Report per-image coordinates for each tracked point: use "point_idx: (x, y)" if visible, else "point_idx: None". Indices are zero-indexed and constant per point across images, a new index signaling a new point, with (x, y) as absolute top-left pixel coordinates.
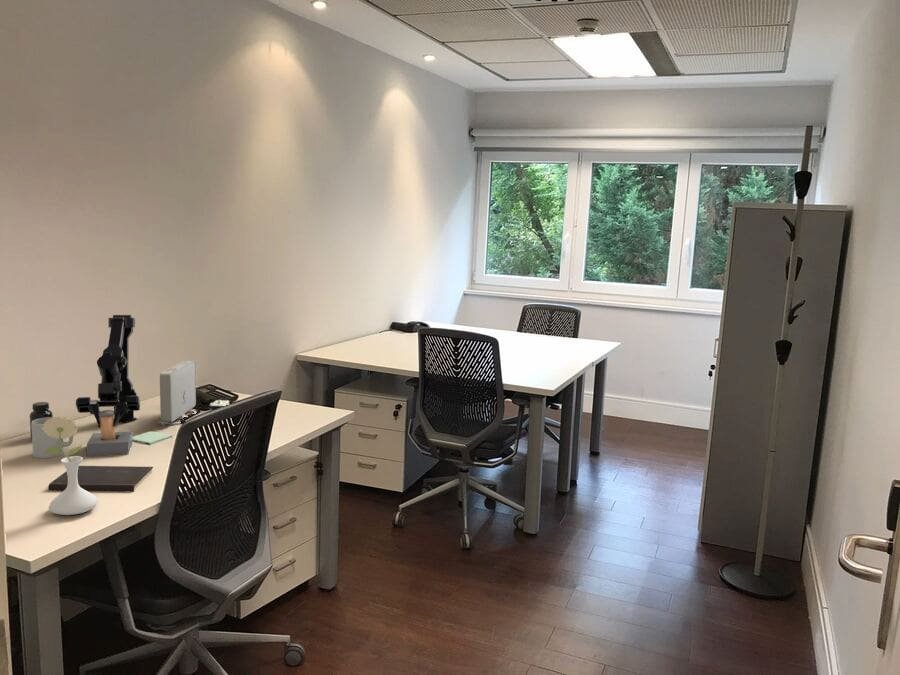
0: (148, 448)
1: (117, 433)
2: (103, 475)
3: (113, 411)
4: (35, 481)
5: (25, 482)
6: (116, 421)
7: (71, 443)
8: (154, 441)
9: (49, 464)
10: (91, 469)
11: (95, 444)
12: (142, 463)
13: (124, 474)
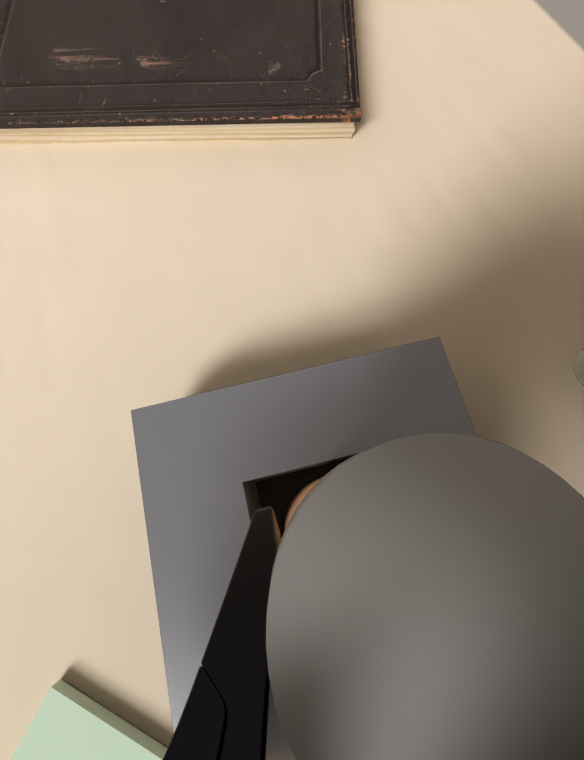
0: (59, 565)
1: None
2: (157, 12)
3: (289, 685)
4: (453, 29)
5: (487, 19)
6: (239, 566)
7: (575, 368)
8: (24, 735)
9: (537, 221)
10: (244, 72)
11: (375, 354)
12: (43, 263)
13: (65, 28)
